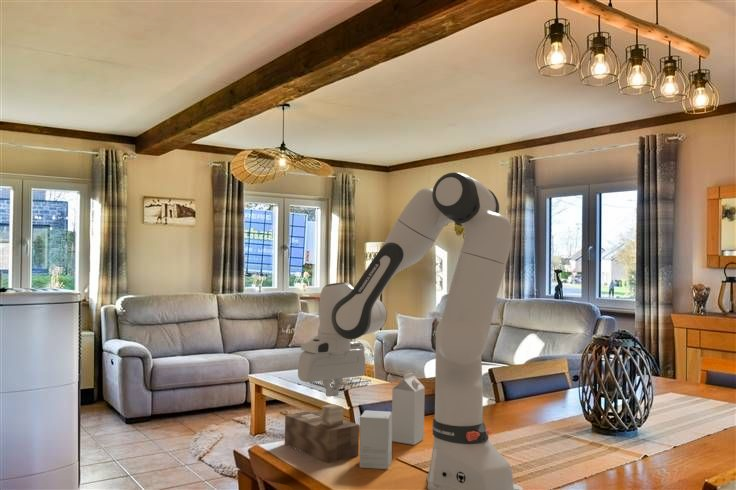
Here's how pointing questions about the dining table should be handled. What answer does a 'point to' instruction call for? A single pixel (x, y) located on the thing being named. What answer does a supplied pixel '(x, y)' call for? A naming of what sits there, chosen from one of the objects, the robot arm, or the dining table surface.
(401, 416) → the milk carton
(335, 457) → the walnut block
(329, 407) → the birch peg near
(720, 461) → the dining table surface
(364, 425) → the supplement box
